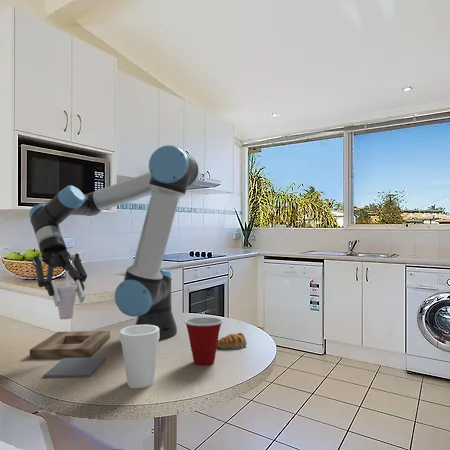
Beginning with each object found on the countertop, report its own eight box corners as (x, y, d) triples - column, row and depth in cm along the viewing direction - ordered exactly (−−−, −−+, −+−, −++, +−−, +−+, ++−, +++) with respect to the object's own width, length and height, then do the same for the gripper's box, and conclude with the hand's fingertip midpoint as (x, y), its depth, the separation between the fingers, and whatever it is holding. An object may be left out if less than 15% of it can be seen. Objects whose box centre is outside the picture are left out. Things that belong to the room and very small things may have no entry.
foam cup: (166, 377, 92) (166, 326, 92) (147, 393, 83) (146, 337, 83) (134, 373, 95) (133, 323, 95) (112, 388, 86) (111, 333, 86)
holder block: (109, 338, 125) (109, 330, 125) (90, 357, 107) (90, 348, 107) (57, 338, 125) (57, 331, 125) (29, 358, 107) (29, 349, 107)
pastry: (221, 352, 110) (221, 339, 110) (212, 345, 116) (212, 333, 116) (248, 347, 114) (248, 335, 114) (238, 341, 120) (238, 329, 120)
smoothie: (68, 321, 104) (67, 272, 104) (49, 320, 105) (48, 272, 105) (82, 315, 110) (81, 269, 110) (64, 314, 112) (63, 269, 111)
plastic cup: (227, 356, 106) (227, 315, 106) (217, 370, 95) (217, 325, 95) (192, 353, 109) (191, 313, 109) (179, 367, 98) (178, 323, 98)
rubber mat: (105, 359, 105) (105, 357, 105) (89, 376, 93) (89, 374, 93) (63, 360, 105) (63, 357, 105) (43, 377, 93) (43, 375, 93)
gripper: (78, 249, 125) (99, 303, 113) (15, 253, 112) (31, 315, 100) (84, 234, 121) (106, 289, 109) (19, 236, 108) (37, 299, 96)
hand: (70, 301), depth 105 cm, fingers closed on smoothie, 6 cm apart
